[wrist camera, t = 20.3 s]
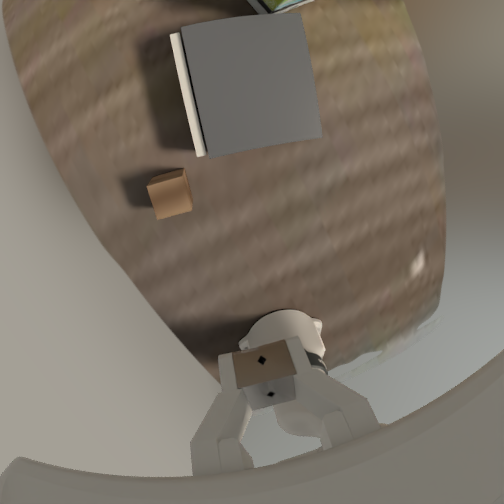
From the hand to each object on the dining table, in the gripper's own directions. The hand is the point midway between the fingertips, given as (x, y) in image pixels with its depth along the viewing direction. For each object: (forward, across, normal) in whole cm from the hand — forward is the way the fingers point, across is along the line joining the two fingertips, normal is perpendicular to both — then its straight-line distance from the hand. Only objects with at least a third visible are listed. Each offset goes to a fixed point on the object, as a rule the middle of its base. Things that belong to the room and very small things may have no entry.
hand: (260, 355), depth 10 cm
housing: (+34, -7, -11) cm, 37 cm away
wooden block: (+34, +7, +2) cm, 35 cm away
